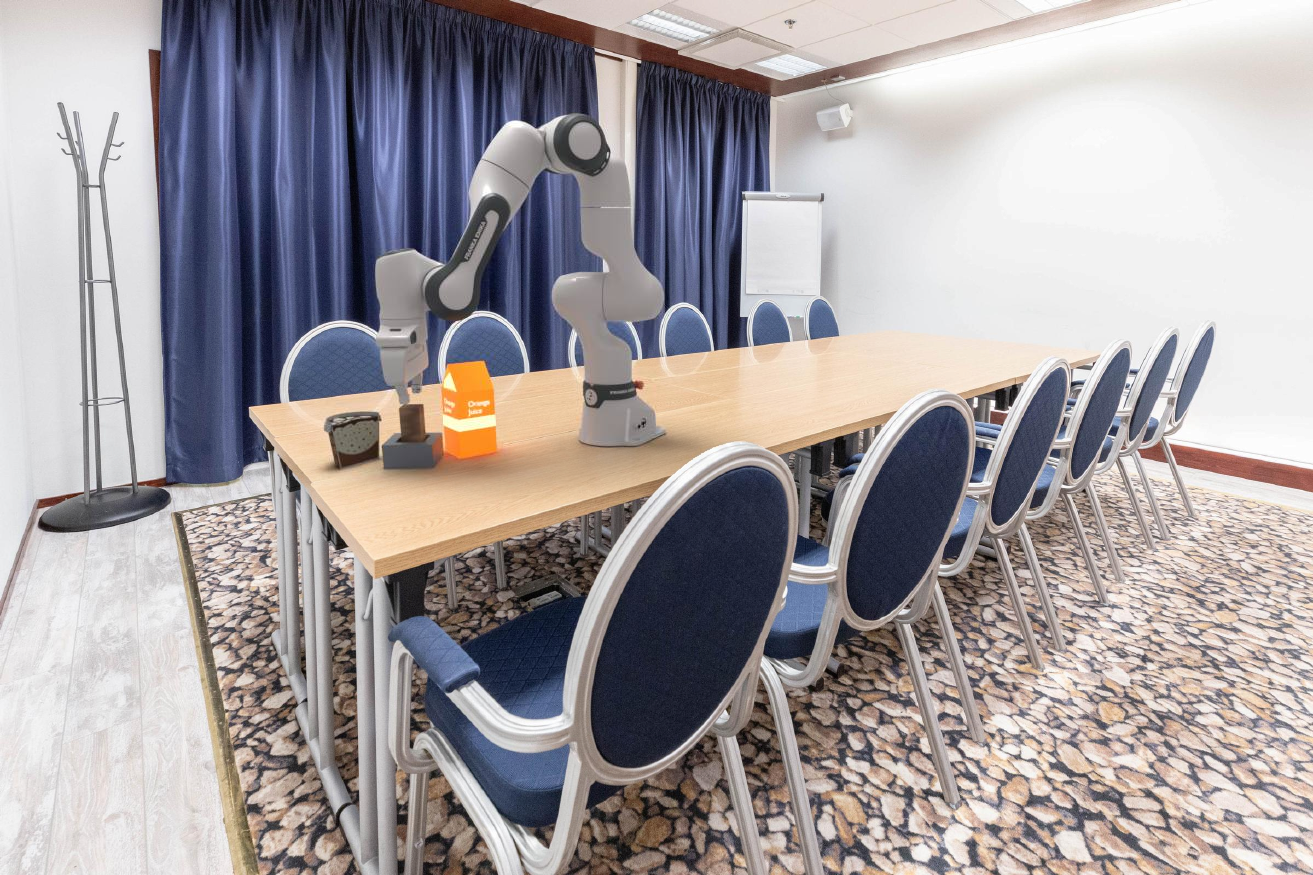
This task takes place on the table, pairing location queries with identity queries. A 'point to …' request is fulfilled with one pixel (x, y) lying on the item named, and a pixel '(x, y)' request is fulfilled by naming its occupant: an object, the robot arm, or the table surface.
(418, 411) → the peg
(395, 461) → the socket
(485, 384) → the orange juice
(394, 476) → the table surface
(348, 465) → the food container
